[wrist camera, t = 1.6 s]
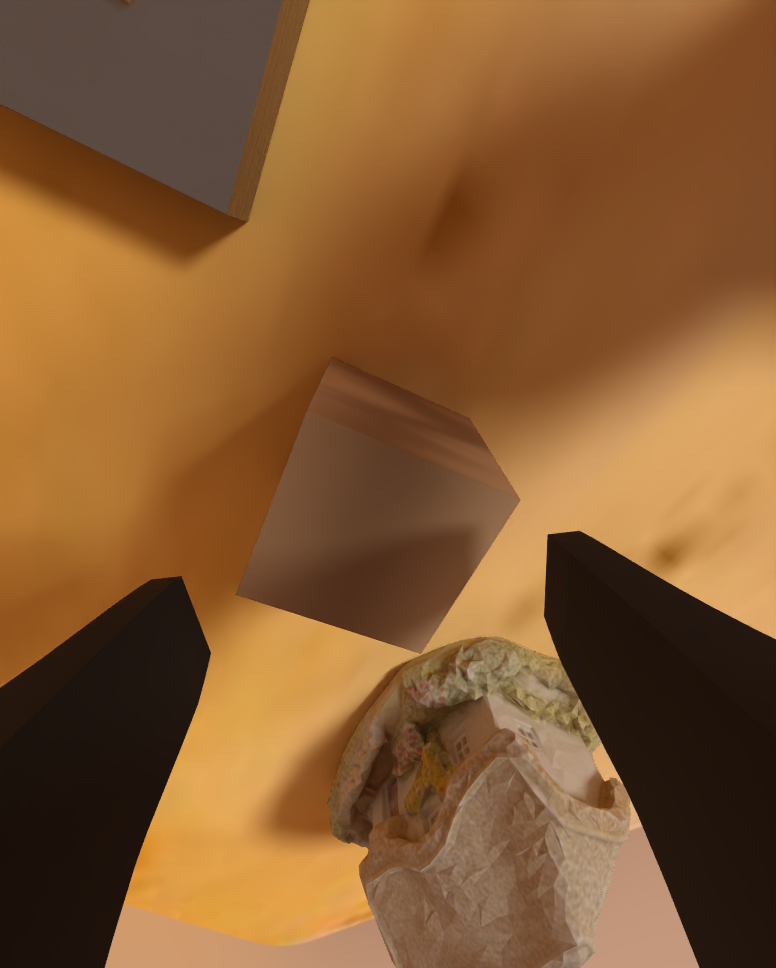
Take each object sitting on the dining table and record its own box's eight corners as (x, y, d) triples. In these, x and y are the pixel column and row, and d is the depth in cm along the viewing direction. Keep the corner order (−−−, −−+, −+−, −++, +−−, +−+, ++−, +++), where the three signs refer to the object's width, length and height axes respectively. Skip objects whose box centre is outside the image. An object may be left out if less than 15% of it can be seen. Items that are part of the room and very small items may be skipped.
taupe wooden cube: (469, 418, 15) (520, 499, 10) (406, 533, 17) (420, 654, 12) (331, 356, 14) (306, 410, 9) (281, 486, 16) (235, 594, 11)
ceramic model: (473, 588, 19) (566, 887, 10) (648, 695, 22) (842, 998, 13) (295, 767, 23) (246, 1081, 14) (460, 835, 27) (505, 1127, 18)
